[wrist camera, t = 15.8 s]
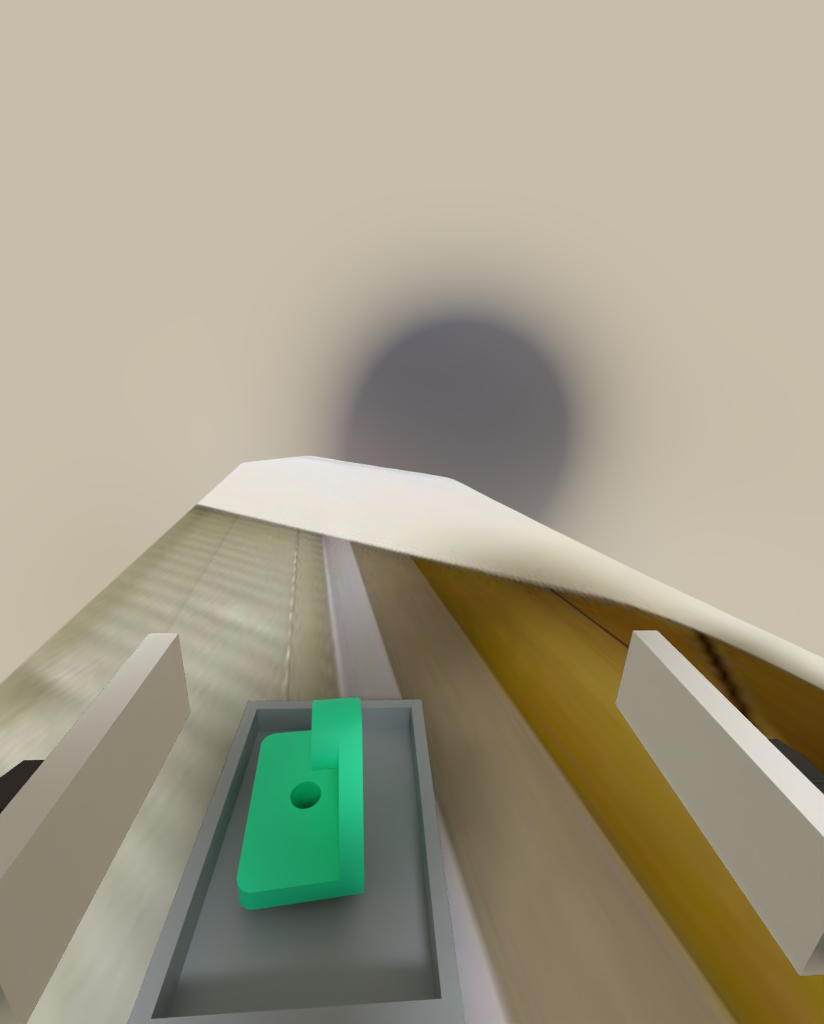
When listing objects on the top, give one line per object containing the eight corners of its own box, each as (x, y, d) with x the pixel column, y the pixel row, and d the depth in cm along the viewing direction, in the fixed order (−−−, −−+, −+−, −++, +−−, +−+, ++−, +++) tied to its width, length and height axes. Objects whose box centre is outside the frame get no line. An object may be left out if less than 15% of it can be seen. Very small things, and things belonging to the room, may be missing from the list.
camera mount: (264, 758, 38) (258, 657, 35) (354, 750, 40) (356, 651, 36) (236, 924, 27) (223, 798, 24) (363, 904, 28) (367, 782, 25)
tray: (419, 728, 44) (421, 699, 42) (458, 1065, 23) (464, 1025, 22) (250, 731, 42) (248, 700, 41) (128, 1092, 21) (116, 1051, 20)
